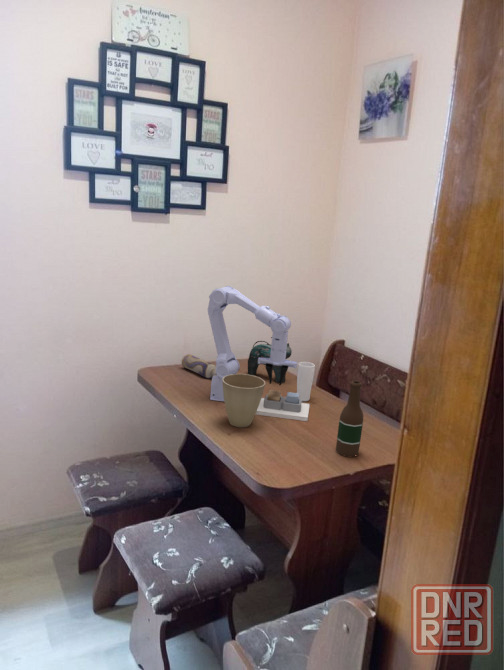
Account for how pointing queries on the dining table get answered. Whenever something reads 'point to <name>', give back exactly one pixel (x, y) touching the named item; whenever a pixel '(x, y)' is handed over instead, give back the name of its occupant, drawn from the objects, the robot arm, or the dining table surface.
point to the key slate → (292, 397)
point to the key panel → (283, 409)
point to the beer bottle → (350, 423)
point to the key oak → (274, 395)
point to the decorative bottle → (199, 366)
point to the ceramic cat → (265, 352)
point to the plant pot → (242, 397)
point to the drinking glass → (305, 379)
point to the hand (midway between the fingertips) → (275, 383)
